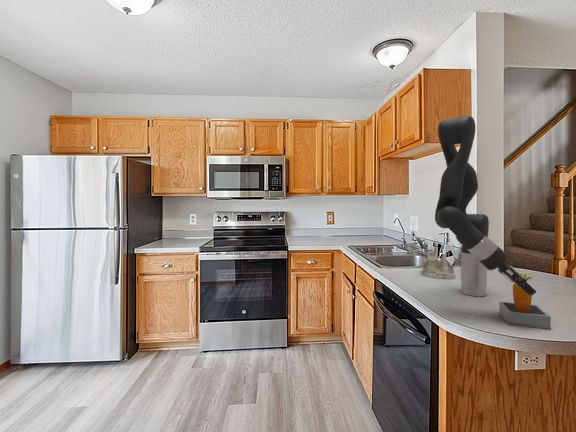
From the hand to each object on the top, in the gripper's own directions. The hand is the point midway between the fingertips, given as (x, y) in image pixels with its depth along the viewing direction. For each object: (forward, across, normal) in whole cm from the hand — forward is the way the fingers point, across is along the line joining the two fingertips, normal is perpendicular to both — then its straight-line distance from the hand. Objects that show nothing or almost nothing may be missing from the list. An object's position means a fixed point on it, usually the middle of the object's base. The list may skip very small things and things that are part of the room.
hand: (528, 290), depth 96 cm
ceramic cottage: (-8, +57, +23) cm, 62 cm away
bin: (+6, 0, +8) cm, 10 cm away
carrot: (+6, 0, +8) cm, 10 cm away
